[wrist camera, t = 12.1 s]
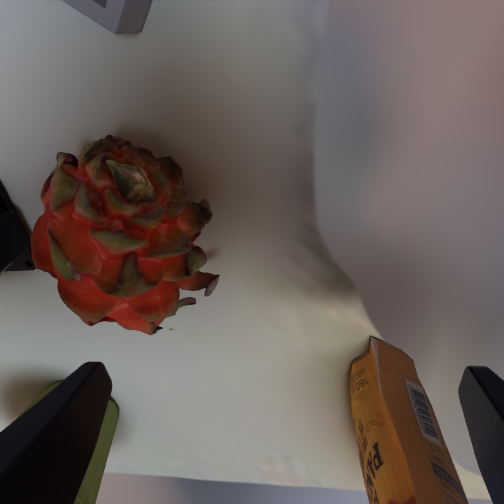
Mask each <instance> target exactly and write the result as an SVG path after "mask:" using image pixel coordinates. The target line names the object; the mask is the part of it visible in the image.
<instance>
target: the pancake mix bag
mask: <svg viewBox="0 0 504 504" xmlns="http://www.w3.org/2000/svg"><path fill="white" fill-rule="evenodd" d="M350 397H351V406H352V415H353V423H354V429H355V435H356V441H357V447H358V453H359V459H360V464H361V468H362V473H363V478H364V482H365V487H366V492H367V496H368V499H369V503H370V504H469V503H468V501H467V498H466V495H465V493H464V490H463V487H462V485H461V482H460V479H459V477H458V474H457V471H456V469H455V466H454V464H453V461H452V458H451V456H450V454H449V451H448V449H447V446H446V444H445V441H444V439H443V436H442V433H441V430H440V427H439V424H438V421H437V419H436V416H435V413H434V411H433V408H432V405H431V403H430V401H429V399H428V397H427V395H426V392H425V390H424V388H423V386H422V384H421V382H420V380H419V378H418V376H417V372H416V369H415V366H414V362H413V360H412V359H411V358H410V357H409V356H408V355H407V354H406V353H404V352H403V351H402V350H400V349H398V348H396V347H394V346H392V345H390V344H388V343H386V342H383V341H381V340H378V339H375V338H372V337H371V342H370V351H369V352H367V353H365V354H364V355H362V356H361V357H359V358H357V359H356V360H354V361H353V363H352V370H351V379H350Z"/></svg>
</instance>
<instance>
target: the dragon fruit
mask: <svg viewBox="0 0 504 504" xmlns="http://www.w3.org/2000/svg"><path fill="white" fill-rule="evenodd" d="M183 189H184V181H183V175H182V168H181V167H180V166H179V165H178V163H177V162H176V161H175V160H174V159H173V158H172V157H163V158H159V159H157V158H155V157H154V155H153V154H152V152H151V151H150V150H148V149H145V148H142V147H137V146H132V144H131V142H130V141H126V140H124V139H122V138H120V137H114V136H111V135H107V136H106V137H105V138H104V139H103V140H102V138H101V139H100V140H98V141H95V142H93V143H91V144H90V145H89V146H87V147H86V148H85V149H84V151H83V152H82V153H81V155H80V157H79V160H77V158H76V157H75V156H74V155H72V154H69V153H63V152H59V153H57V165H56V167H55V169H54V170H53V171H52V173H51V174H50V175H49V177H48V178H47V180H46V182H45V184H44V186H43V188H42V191H41V195H40V197H41V200H42V202H43V203H44V205H45V212H44V214H43V215H42V216H40V217H39V218H38V220H37V222H36V224H35V226H34V228H33V232H32V236H31V251H32V259H33V262H34V264H35V266H36V269H40V270H42V271H45V272H48V273H49V274H51V276H53V277H55V278H57V279H58V292H59V295H60V297H61V299H62V301H63V302H64V303H65V304H66V305H67V307H68V308H70V309H71V310H72V311H73V312H74V313H75V314H77V315H78V316H79V317H80V318H81V319H82V321H83V322H84V323H86V324H87V325H89V326H93V325H95V324H97V323H99V322H103V321H107V322H117V323H118V324H119V325H121V326H122V327H124V328H125V329H128V330H138V331H142V332H144V333H146V334H148V335H153V334H155V333H158V332H157V330H161V329H163V328H162V327H159V326H158V325H159V324H160V323H161V322H162V321H163V320H164V319H165V318H166V317H170V316H173V315H175V313H176V311H177V310H178V308H179V307H182V306H185V305H193V304H196V299H195V298H192V297H187V298H183V299H181V300H180V301H179V295H180V292H179V288H181V289H183V290H191V291H196V290H200V289H204V288H206V290H205V296H209V295H210V294H211V293H212V292H213V290H214V289H215V287H216V286H217V282H218V279H219V276H220V275H219V274H218V275H214V274H211V273H203V272H200V271H198V270H199V269H200V268H201V267H202V266H203V265H204V264H205V263H206V261H207V257H206V254H205V252H204V251H203V250H202V248H200V247H199V246H196V247H195V245H194V244H193V243H192V242H193V241H194V240H195V239H196V238H197V237H198V236H199V235H200V234H201V229H202V228H203V227H204V225H205V224H206V223H208V222H209V221H210V220H211V217H212V212H211V209H210V204H209V203H208V201H207V200H206V199H203V200H201V202H200V203H196V202H192V201H189V200H187V198H186V194H185V192H184V190H183ZM184 327H185V326H184ZM172 329H173V328H172ZM172 329H170V330H172Z"/></svg>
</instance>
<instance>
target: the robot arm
mask: <svg viewBox="0 0 504 504" xmlns="http://www.w3.org/2000/svg"><path fill="white" fill-rule="evenodd" d="M30 262H31V263H30ZM35 269H36V266H35V264H34V262H33V259H32V251H31V243H30V241H29V239H28V237H27V235H26V233H25V231H24V229H23V227H22V225H21V223H20V221H19V219H18V217H17V215H16V213H15V211H14V209H13V207H12V205H11V203H10V201H9V199H8V197H7V195H6V193H5V191H4V189H3V187H2V185H1V184H0V274H1V273H2V272H3V271H22V270H35ZM111 391H112V381H111V378H110V376H109V374H108V372H107V370H106V368H105V366H104V364H103V363H102V362H86V363H84V364H83V365H82V366H80V367H79V368H78V369H77V370H75V371H74V372H73V373H72V374H71V375H69V376H68V377H67V378H66V379H65V380H63V381H62V382H61V383H60V384H58V385H57V386H56V387H55V388H54V389H52V390H51V391H50V392H49V393H48V394H46V395H45V396H44V397H43V398H41V399H40V400H39V401H38V402H37V403H35V404H34V405H33V406H32V407H31V408H29V409H28V410H27V411H26V412H24V413H23V414H22V415H21V416H20V417H18V418H17V419H16V420H15V421H14V422H12V423H11V424H10V425H9V426H7V427H6V428H5V429H4V430H3V431H1V432H0V504H74V502H75V500H76V497H77V495H78V492H79V490H80V487H81V484H82V482H83V479H84V477H85V474H86V472H87V469H88V466H89V464H90V461H91V459H92V456H93V453H94V450H95V448H96V444H97V441H98V438H99V434H100V431H101V427H102V424H103V420H104V417H105V413H106V409H107V406H108V402H109V399H110V395H111ZM458 393H459V399H460V403H461V406H462V410H463V413H464V417H465V421H466V424H467V428H468V431H469V435H470V439H471V442H472V446H473V449H474V453H475V456H476V460H477V463H478V466H479V469H480V472H481V474H482V477H483V480H484V482H485V485H486V487H487V490H488V492H489V495H490V497H491V500H492V502H493V504H504V380H503V379H501V378H500V377H499V376H498V375H497V374H495V373H494V372H493V371H492V370H491V369H489V368H488V367H485V366H467V367H466V368H465V370H464V373H463V376H462V379H461V382H460V385H459V390H458Z"/></svg>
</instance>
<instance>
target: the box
mask: <svg viewBox="0 0 504 504" xmlns="http://www.w3.org/2000/svg"><path fill="white" fill-rule="evenodd" d="M62 1H64V2H66V3H67V4H69V5H70V6H72V7H73V8H75V9H77V10H78V11H80V12H81V13H83V14H84V15H86V16H88V17H89V18H91V19H92V20H94V21H96V22H97V23H99V24H100V25H102V26H103V27H105V28H107V29H108V30H110V31H111V32H113V33H115V34H119V33H129V32H138V31H142V29H143V26H144V23H145V20H146V17H147V15H148V12H149V9H150V6H151V3H152V0H62Z"/></svg>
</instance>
